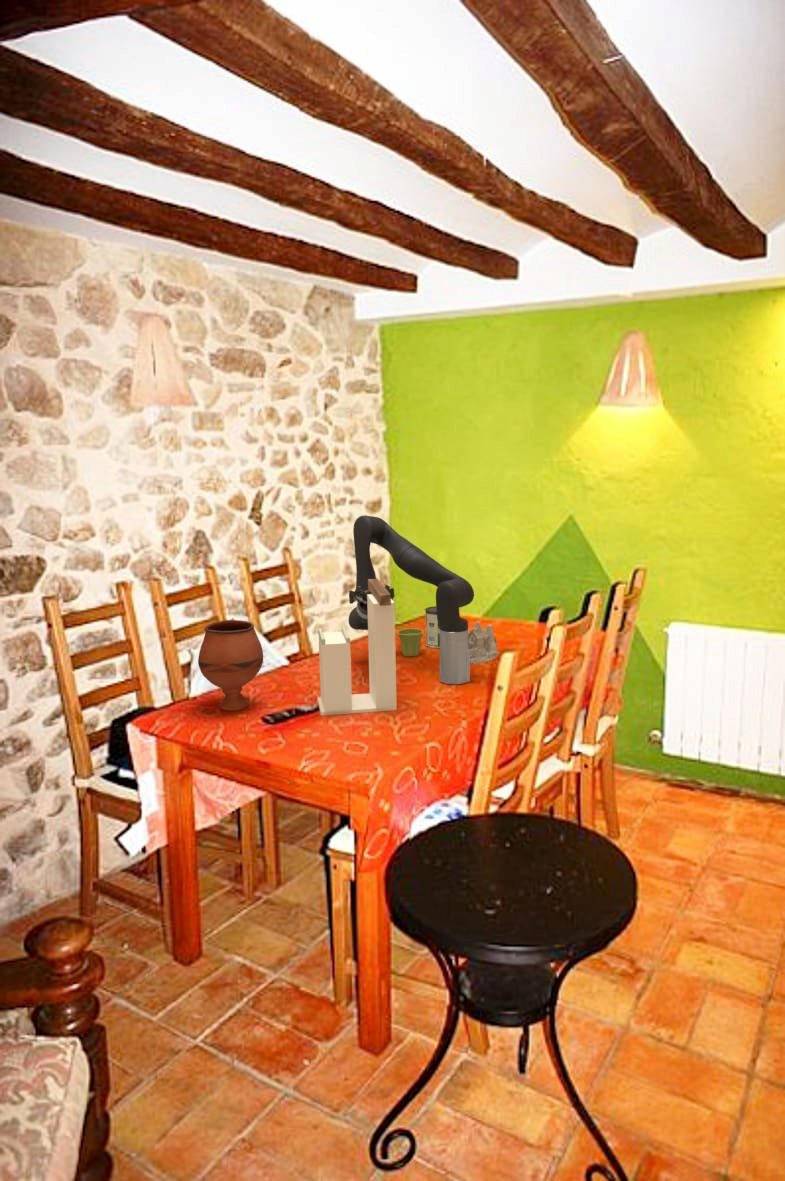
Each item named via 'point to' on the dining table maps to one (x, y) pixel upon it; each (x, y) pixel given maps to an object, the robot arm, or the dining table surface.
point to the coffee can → (432, 628)
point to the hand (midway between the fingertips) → (373, 588)
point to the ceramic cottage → (482, 644)
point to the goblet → (230, 659)
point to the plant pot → (410, 641)
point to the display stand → (338, 666)
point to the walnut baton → (379, 592)
